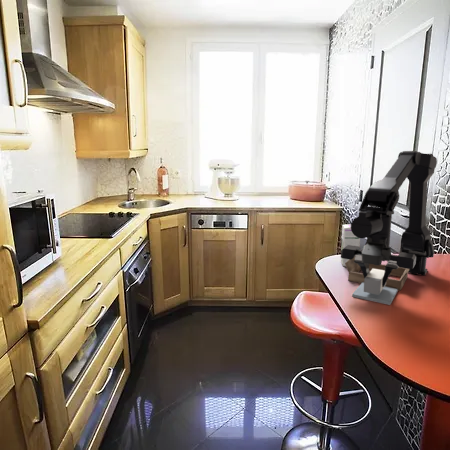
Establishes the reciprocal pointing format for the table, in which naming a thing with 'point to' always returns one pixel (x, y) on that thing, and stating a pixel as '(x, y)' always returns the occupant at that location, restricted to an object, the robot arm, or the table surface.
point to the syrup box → (348, 240)
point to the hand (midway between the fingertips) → (375, 284)
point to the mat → (384, 296)
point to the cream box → (374, 281)
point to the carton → (401, 272)
